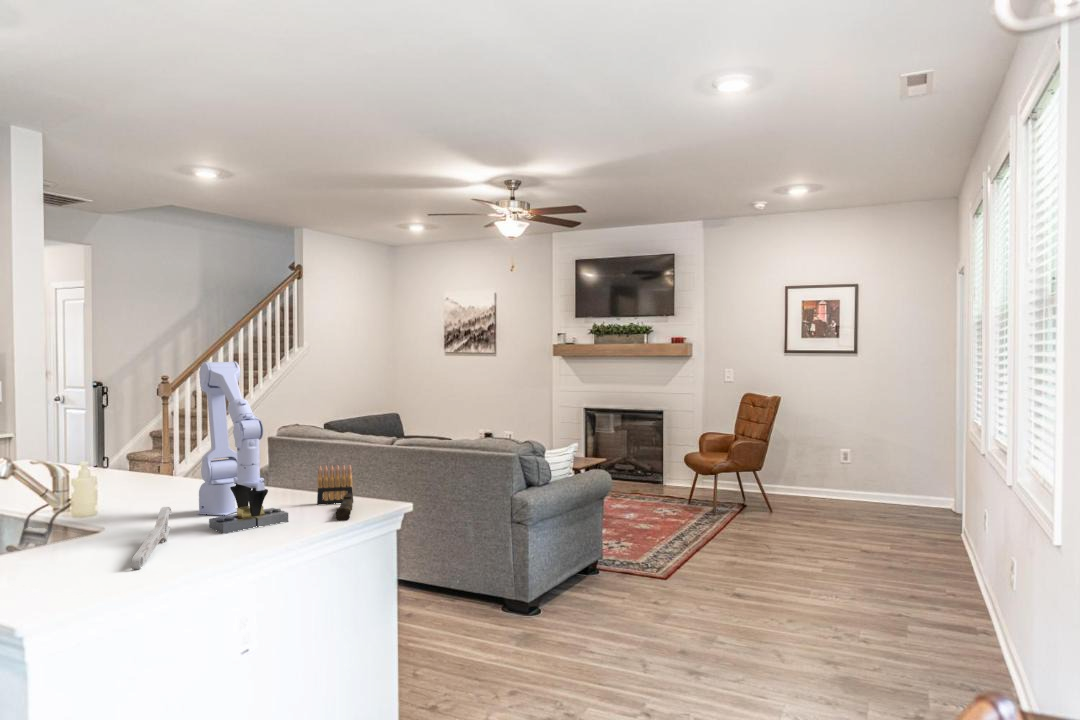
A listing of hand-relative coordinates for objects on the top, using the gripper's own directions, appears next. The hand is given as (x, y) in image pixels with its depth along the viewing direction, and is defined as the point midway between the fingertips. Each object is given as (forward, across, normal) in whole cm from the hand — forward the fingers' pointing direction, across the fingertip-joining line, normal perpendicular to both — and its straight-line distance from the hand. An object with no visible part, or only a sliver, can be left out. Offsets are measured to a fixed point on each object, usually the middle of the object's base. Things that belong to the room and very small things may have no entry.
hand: (249, 513), depth 205 cm
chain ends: (+3, 0, 0) cm, 3 cm away
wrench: (+3, -9, +28) cm, 29 cm away
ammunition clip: (+3, +7, -30) cm, 32 cm away
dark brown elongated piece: (+4, -7, -25) cm, 26 cm away
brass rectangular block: (+3, 0, 0) cm, 3 cm away
